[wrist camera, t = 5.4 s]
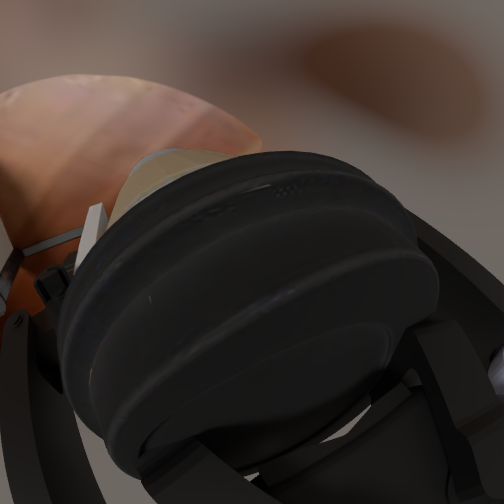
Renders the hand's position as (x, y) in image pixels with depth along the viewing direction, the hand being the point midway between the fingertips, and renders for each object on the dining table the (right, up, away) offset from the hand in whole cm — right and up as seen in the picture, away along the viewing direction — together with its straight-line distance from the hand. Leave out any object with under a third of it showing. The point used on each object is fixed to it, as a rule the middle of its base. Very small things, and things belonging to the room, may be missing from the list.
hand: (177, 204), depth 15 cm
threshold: (-20, -1, +14) cm, 24 cm away
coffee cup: (-1, +1, +2) cm, 2 cm away
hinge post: (-27, -3, +12) cm, 30 cm away
